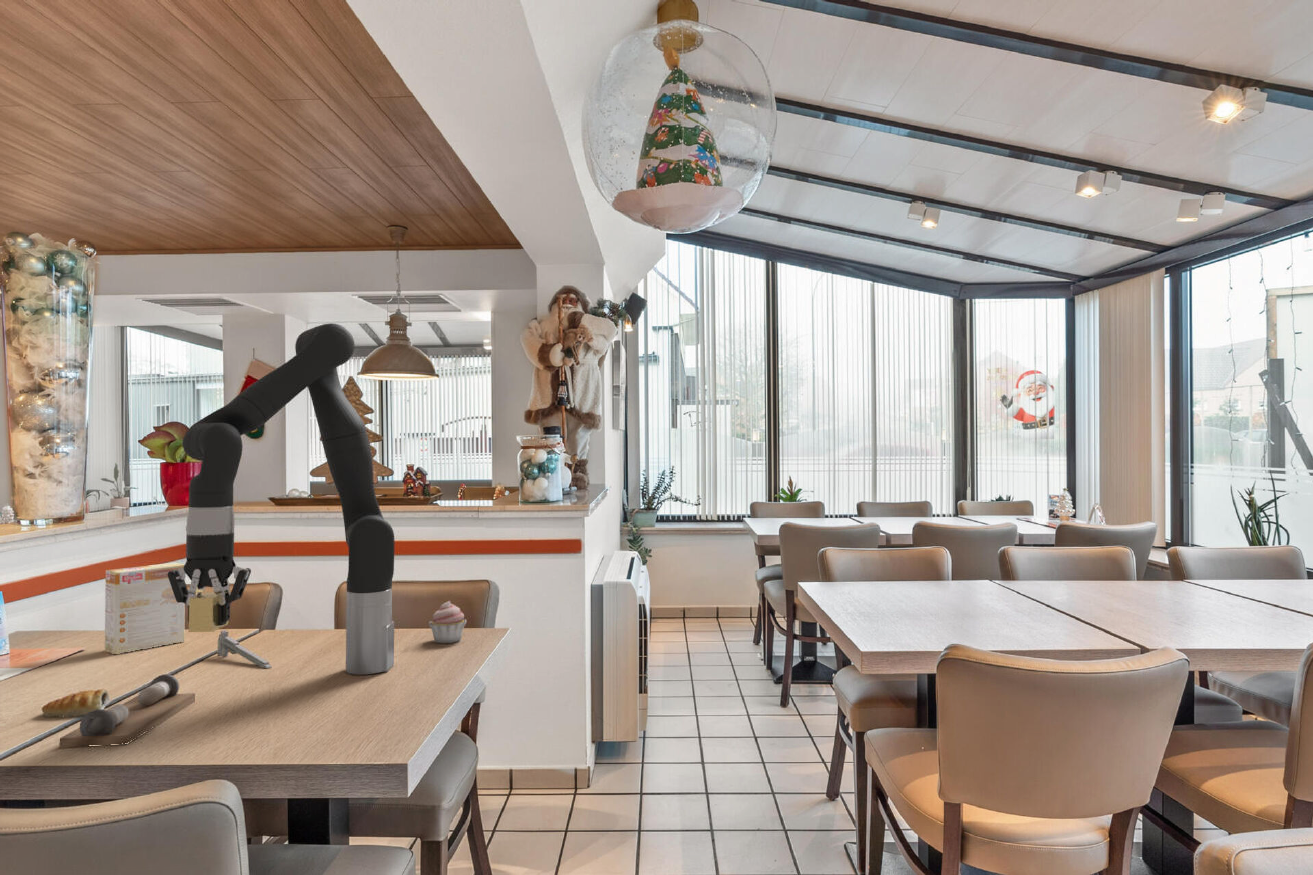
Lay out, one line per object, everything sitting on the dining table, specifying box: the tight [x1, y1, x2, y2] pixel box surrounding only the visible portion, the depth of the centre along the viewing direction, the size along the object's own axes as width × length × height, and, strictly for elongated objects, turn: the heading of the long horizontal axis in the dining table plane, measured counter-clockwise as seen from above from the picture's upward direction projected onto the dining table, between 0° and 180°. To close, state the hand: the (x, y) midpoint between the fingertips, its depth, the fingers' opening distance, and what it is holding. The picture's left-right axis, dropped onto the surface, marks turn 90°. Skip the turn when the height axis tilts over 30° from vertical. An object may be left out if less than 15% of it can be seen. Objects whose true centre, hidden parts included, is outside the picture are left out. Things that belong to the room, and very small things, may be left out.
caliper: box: [217, 629, 273, 670], centre depth 164 cm, size 20×1×6 cm, turn 59°
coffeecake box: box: [104, 562, 186, 655], centre depth 178 cm, size 15×7×20 cm, turn 144°
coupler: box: [188, 591, 229, 633], centre depth 133 cm, size 4×6×6 cm, turn 7°
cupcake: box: [428, 600, 467, 644], centre depth 182 cm, size 9×9×10 cm
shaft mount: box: [59, 673, 196, 749], centre depth 126 cm, size 10×21×5 cm, turn 7°
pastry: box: [41, 688, 111, 718], centre depth 132 cm, size 9×7×4 cm
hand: (208, 624), depth 133 cm, fingers closed on coupler, 4 cm apart
